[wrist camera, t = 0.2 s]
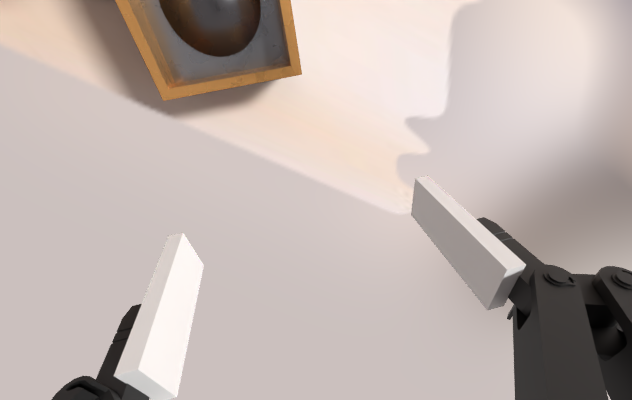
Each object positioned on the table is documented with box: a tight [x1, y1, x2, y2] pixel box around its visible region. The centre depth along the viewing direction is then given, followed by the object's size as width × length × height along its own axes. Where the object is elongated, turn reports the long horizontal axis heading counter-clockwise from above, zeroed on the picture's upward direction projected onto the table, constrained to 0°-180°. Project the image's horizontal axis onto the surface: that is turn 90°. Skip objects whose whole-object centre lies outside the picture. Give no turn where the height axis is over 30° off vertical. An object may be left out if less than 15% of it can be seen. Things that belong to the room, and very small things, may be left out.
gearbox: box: [115, 0, 302, 101], centre depth 26 cm, size 15×15×8 cm
